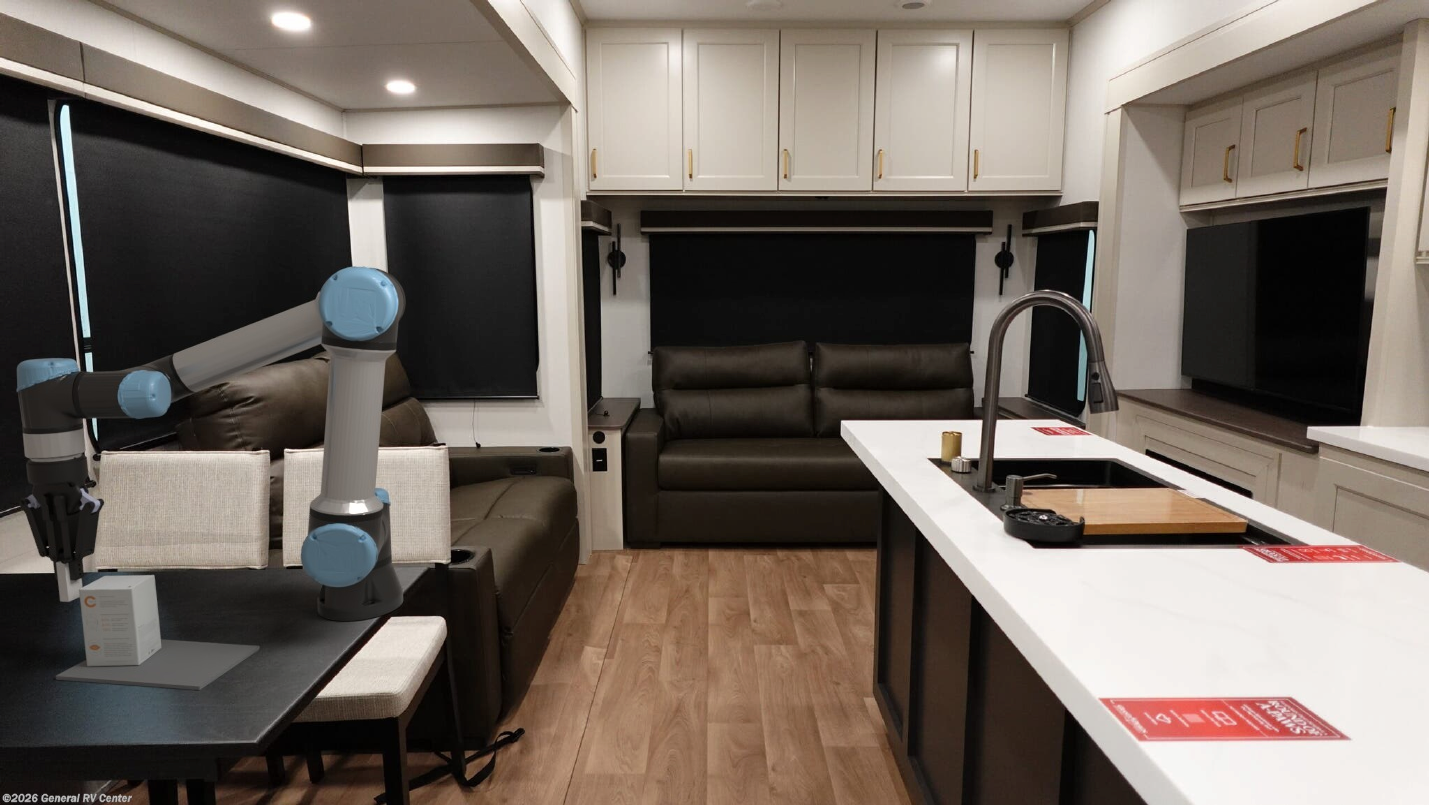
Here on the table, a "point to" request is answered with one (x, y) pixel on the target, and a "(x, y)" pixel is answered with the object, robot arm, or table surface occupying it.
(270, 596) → the table surface
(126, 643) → the small box
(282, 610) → the table surface
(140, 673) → the mat
